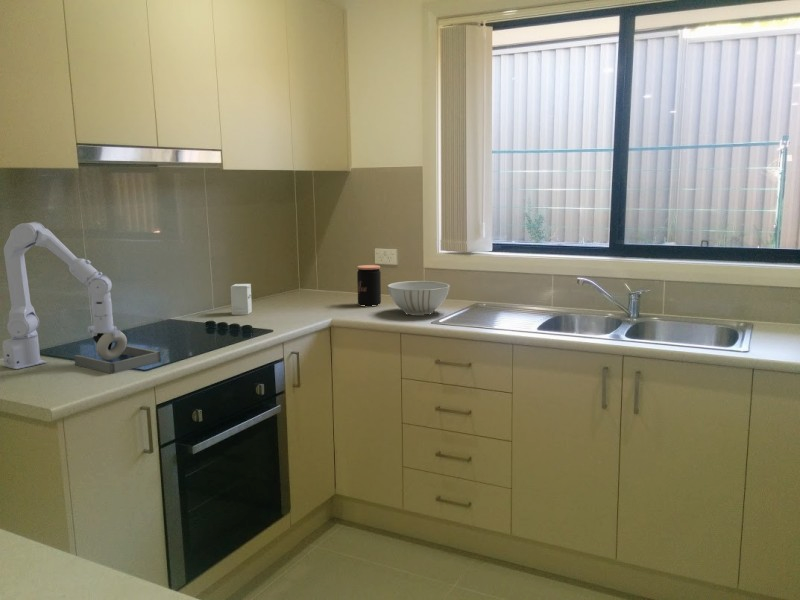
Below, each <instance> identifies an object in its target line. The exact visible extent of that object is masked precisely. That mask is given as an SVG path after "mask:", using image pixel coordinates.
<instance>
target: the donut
mask: <svg viewBox="0 0 800 600" xmlns="http://www.w3.org/2000/svg"><path fill="white" fill-rule="evenodd" d="M111 342H113V343H114V342H115V344H114V346H113V347H111V349H110V350H108V346H109V344H110V343H111ZM127 344H128V339H127V336H126V334H124V333H123V332H122V331H121V337H116V338H114V337H113V334H110V333H105V334H104V335H102V337H101V338H100V339H99V341H98V342H97V343H96V348H95V350H96V354H97V355H98V357H99V358H101V359H102V360H103V361H112V360H115V359H117V358H119V357H120V356H121V355H123V354H122V353H123V352H124V350H125V348H126V345H127Z"/></svg>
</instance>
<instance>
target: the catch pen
mask: <svg viewBox="0 0 800 600" xmlns="http://www.w3.org/2000/svg"><path fill="white" fill-rule="evenodd" d="M121 355H122V356H123V355H124V356H128V357H129V358H127V359H123V360H122V359H121V360H118V361H114V362H110V361H108V360H104V359H102V360H101V359H99V358H93V357H90V356H85V355H80V354H74V355H73V356H74V365H75V366H79V367H83V368H87V369H91V370H94V371H99V372H103V373H108V374H116V373H120V372H125V371H127V370H132V369H135V368H141V367H143V366H148V365H151V364H152V365H153V364H156V363H158V362H161V361H162V359H161V358H162V357H161V351H157V350H152V349H147V348H143V347H138V346H134V345H133V346H132V345H126V348H125V350H124V352H123V353H122V354H121Z"/></svg>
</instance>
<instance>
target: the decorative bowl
mask: <svg viewBox="0 0 800 600" xmlns="http://www.w3.org/2000/svg"><path fill="white" fill-rule="evenodd" d="M450 287H451V285H450V284H448V283H445V282H442V281H441V282H440V281H432V280H430V281H429V280H413V281H412V280H411V281H398V282H392V283H390V284H387V290H388V293H389V297H391V300H392V301H393V302H394V304H395V305H396V306H397V307H398V308H399V309H401V310H403V313H404V312H405V313H407V314H406V315H408V314H414V315H413V316H425V315H424V314H429V315H431V314H430V313H432V314H433V313H434V311H435V310H436V309H438V308H439V307H440V306H441V305H442V304H443V303H444V302H445V300H446V298H447V297H448V294H449V292H450ZM405 313H404V314H405Z"/></svg>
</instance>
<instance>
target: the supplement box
mask: <svg viewBox="0 0 800 600" xmlns="http://www.w3.org/2000/svg"><path fill="white" fill-rule="evenodd" d="M252 302H253V301H252V283H235V284H233V285H230V304H231V307H230V309H231V315H232V316H240V315H241V316H247V315H249V314H251V313H252V311H253V309H252V308H253V305H252V304H253V303H252Z"/></svg>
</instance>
